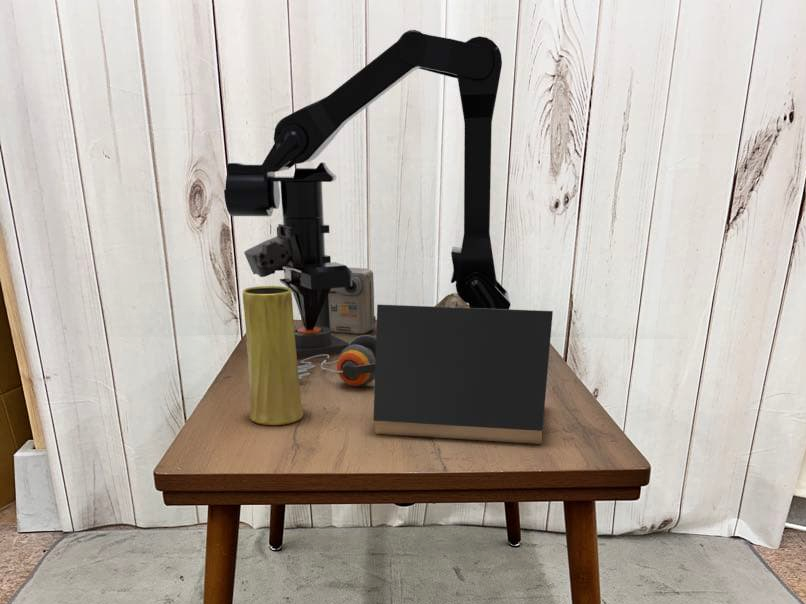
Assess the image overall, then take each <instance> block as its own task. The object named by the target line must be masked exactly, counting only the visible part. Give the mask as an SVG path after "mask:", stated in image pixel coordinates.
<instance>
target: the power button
mask: <svg viewBox="0 0 806 604" xmlns="http://www.w3.org/2000/svg"><path fill="white" fill-rule="evenodd" d="M320 332H321V329H320V328H318V327H314V329H312V330H307V329H305V327H302V328H298V329H297V333H302V334H313V333H320Z"/></svg>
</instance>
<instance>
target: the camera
mask: <svg viewBox="0 0 806 604" xmlns="http://www.w3.org/2000/svg"><path fill="white" fill-rule="evenodd" d="M347 267H348V266H347ZM348 268H349V269H350V270H351V271H352V286H351V287H340V288H331V290H330V292H329V294H328V296H327V298H326V300H325V302H324V305H323V307H322V309H321V312H320V314H319V317H318V319H317V322H316V324H315V326H322V327H327V328H329V329H331V333H332V332H333V333H334V332H335V333H343V334H356V335H366V334H367V333H368V332H370V331H372V330H373V329H374V328H375V327H376V324H377V316H375V286H374V285H375V284H374V283H375V282H374V272H373V270H372V269H370V268H365V267H363V268H362V267H350V266H349V267H348Z"/></svg>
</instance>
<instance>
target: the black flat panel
mask: <svg viewBox="0 0 806 604" xmlns="http://www.w3.org/2000/svg"><path fill="white" fill-rule="evenodd" d="M553 314H554V311H553V310H536V309H535V310H533V309H510V308H509V309H485V308H459V307H434V306H433V305H432V306H431V305H430V306H428V305H427V306H426V305H404V304H403V305H402V304H401V305H400V304H377V305H376V329H375V330H376V331H375V332H376V333H375V334H376V335H375V337H376V359H375V378H374V388H373V389H374V390H373V393H374V394H373V419H372V420H373V421H374V422H375V421H389V422H405V423H421V424H437V425H454V426H470V427H486V428H502V429H519V430H535V431H542V432H543V429H544V418H545V407H546V396H547V395H546V394H547V382H548V373H549V360H550V349H551V348H550V347H551V339H552V338H551V337H552V326H553Z"/></svg>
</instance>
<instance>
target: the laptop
mask: <svg viewBox="0 0 806 604" xmlns="http://www.w3.org/2000/svg"><path fill="white" fill-rule="evenodd" d="M374 428H375V430H374V431H375V434H376V435H389V436H390V435H391V436H407V437H423V438H437V439H455V440H466V441H467V440H468V441H469V440H470V441H483V442H484V441H485V442H499V443H500V442H501V443H513V444H515V443H516V444H519V443H520V444H531V445H542V440H543V430H542V431H535V430H519V429H502V428H486V427H470V426H454V425H437V424H421V423H405V422H389V421H374Z"/></svg>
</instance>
